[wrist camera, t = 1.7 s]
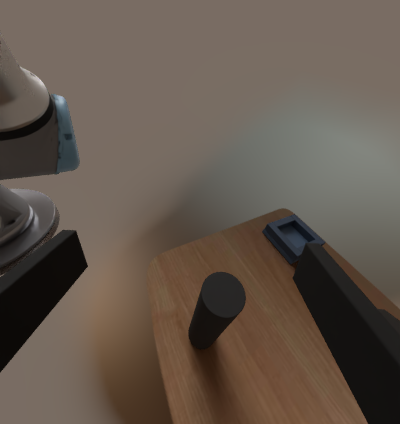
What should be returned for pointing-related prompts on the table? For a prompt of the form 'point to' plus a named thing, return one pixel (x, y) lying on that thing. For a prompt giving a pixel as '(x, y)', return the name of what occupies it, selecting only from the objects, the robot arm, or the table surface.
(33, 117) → the robot arm
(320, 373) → the table surface
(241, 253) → the table surface
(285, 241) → the socket pad
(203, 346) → the tall dark cylinder
